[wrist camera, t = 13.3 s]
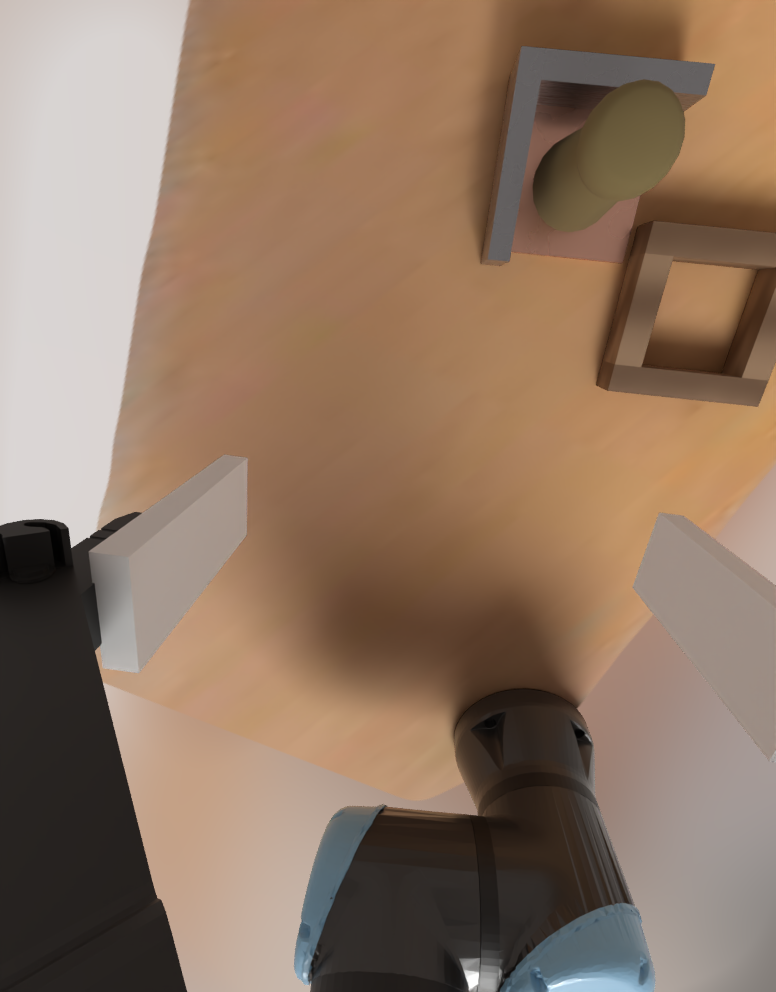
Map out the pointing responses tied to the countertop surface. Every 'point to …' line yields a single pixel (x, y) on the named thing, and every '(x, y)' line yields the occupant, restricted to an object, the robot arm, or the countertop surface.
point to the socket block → (758, 340)
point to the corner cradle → (548, 119)
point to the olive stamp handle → (610, 156)
